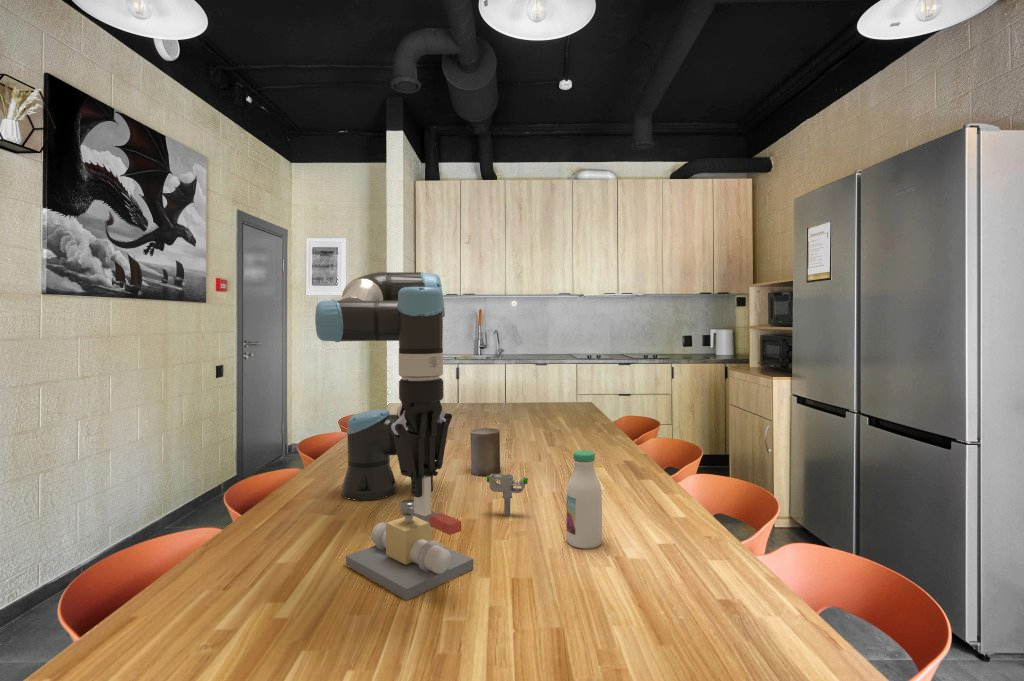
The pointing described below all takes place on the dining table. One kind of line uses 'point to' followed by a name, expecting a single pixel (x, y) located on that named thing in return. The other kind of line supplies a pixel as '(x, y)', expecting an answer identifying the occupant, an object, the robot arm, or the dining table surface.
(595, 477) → the milk bottle
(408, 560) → the pipe valve base
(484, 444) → the pillar candle
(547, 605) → the dining table surface
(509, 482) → the mechanical component
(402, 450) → the robot arm
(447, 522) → the valve lever
